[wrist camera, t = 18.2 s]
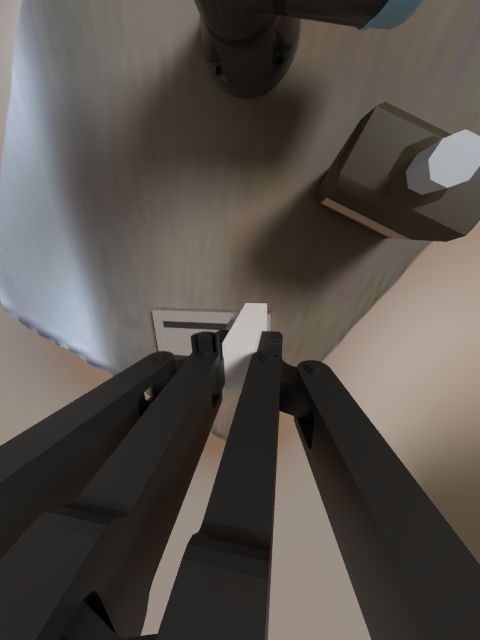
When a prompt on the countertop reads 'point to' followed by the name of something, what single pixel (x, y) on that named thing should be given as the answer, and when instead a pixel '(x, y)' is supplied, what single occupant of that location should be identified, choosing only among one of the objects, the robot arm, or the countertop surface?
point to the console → (189, 326)
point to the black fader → (230, 324)
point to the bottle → (405, 178)
